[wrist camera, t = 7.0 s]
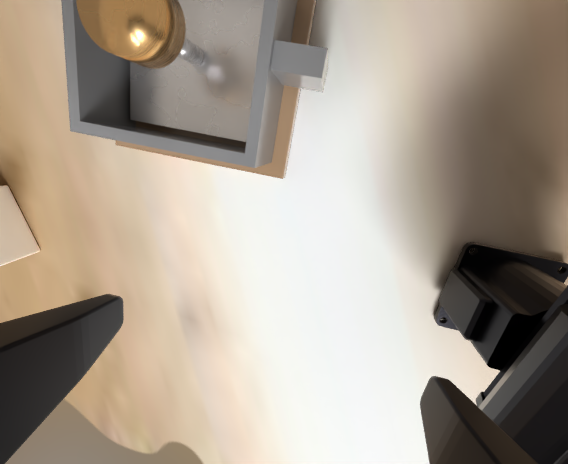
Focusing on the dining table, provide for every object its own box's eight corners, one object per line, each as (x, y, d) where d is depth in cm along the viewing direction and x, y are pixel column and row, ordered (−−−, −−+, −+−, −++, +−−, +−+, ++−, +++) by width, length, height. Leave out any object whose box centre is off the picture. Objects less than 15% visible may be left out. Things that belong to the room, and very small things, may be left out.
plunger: (279, -16, 15) (240, -141, 8) (257, 143, 18) (214, 143, 11) (137, -35, 16) (-3, -166, 9) (136, 120, 18) (27, 107, 12)
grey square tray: (349, -34, 15) (360, -124, 10) (306, 181, 19) (298, 195, 14) (123, -64, 17) (30, -158, 11) (125, 144, 20) (56, 145, 15)
